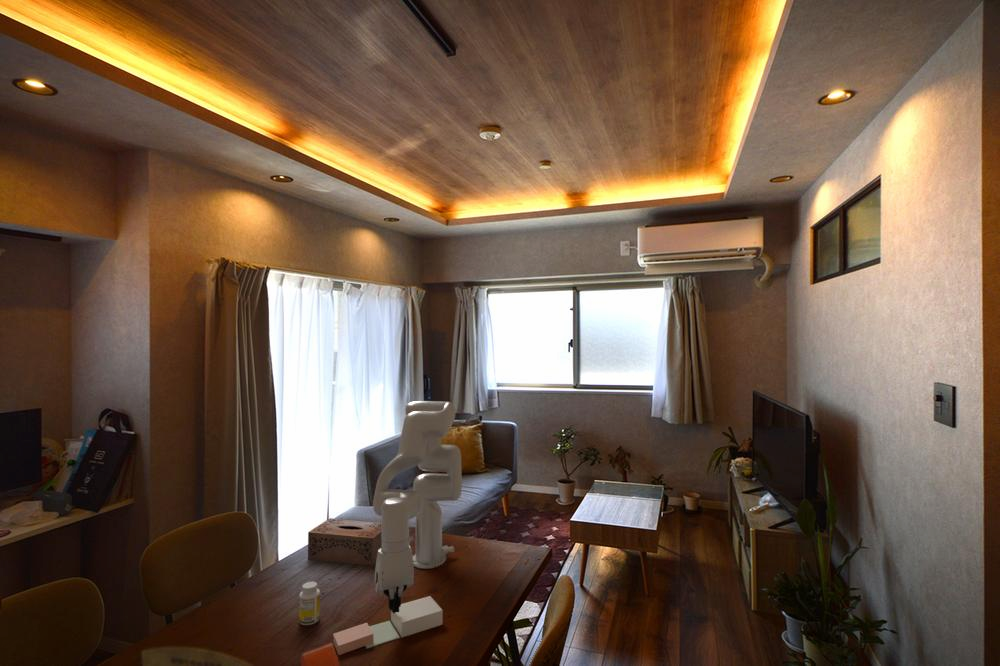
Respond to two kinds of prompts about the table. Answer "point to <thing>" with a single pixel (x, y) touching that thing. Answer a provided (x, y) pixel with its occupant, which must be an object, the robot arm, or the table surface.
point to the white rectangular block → (417, 616)
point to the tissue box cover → (345, 541)
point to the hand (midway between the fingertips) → (394, 610)
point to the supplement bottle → (309, 604)
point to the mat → (383, 633)
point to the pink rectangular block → (353, 638)
